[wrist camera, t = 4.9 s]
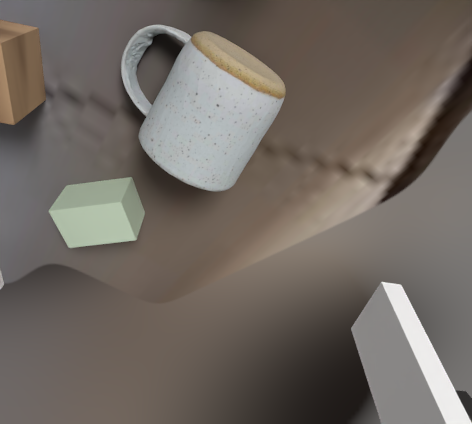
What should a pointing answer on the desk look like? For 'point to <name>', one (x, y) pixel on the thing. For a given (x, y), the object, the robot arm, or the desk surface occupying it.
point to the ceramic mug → (204, 107)
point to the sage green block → (98, 212)
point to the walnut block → (19, 71)
